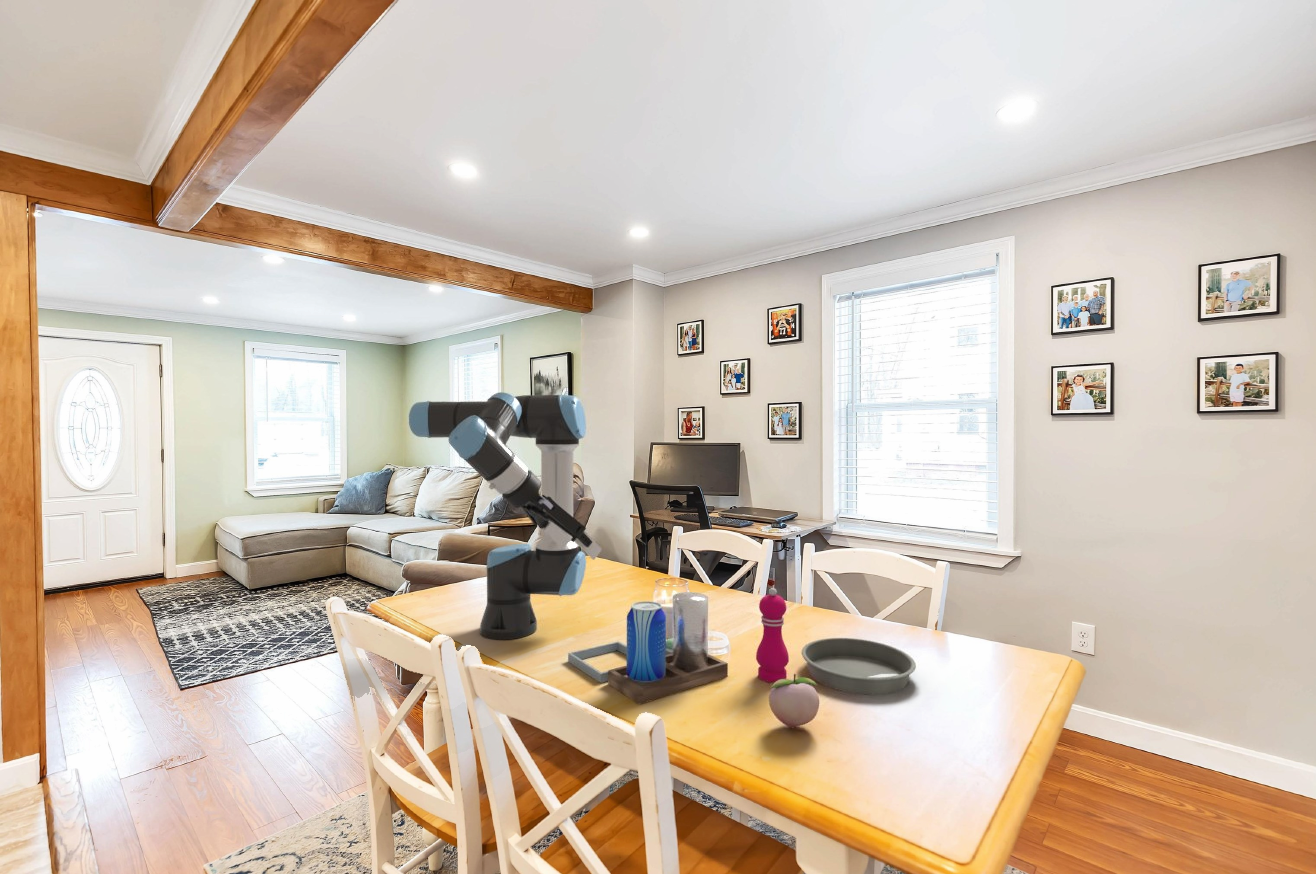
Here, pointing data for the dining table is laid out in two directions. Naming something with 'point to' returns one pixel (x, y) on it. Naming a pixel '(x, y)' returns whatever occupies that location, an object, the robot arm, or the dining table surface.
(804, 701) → the decorative fruit
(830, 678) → the cake pan
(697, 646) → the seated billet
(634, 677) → the beer can
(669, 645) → the button
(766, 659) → the pepper mill
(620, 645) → the frame
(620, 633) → the dining table surface
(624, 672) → the wooden divided tray
